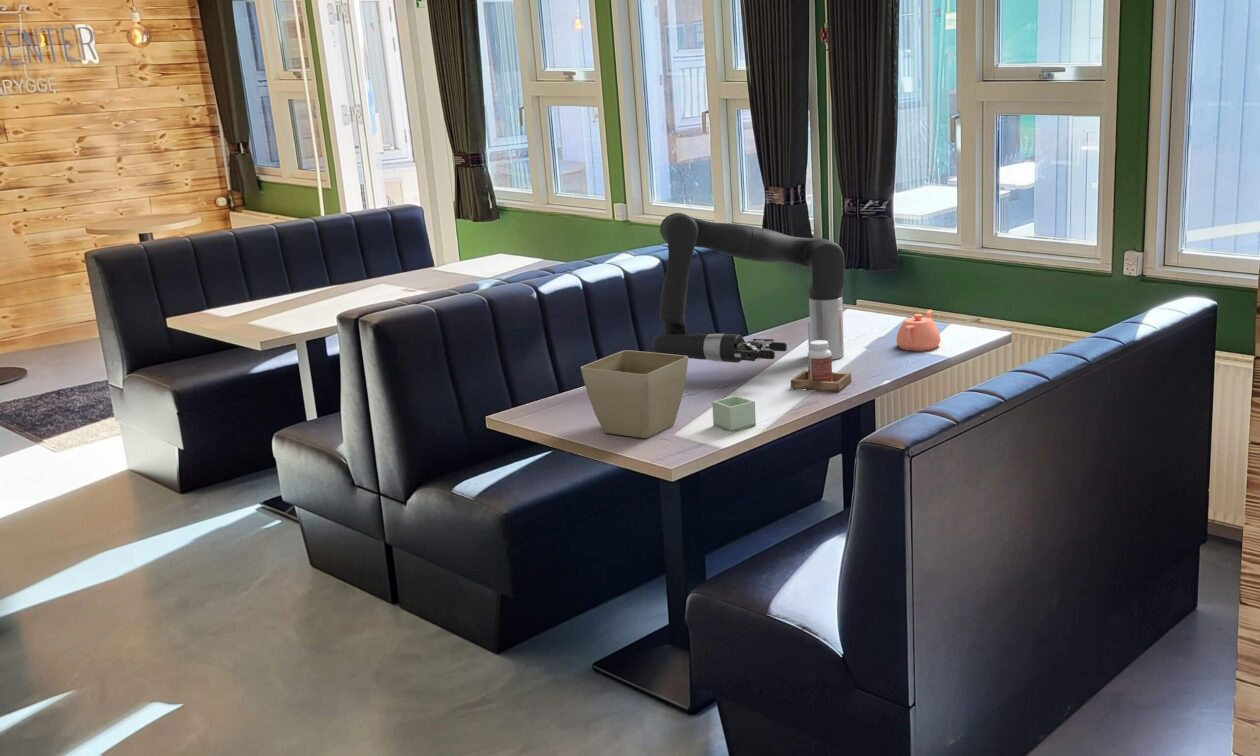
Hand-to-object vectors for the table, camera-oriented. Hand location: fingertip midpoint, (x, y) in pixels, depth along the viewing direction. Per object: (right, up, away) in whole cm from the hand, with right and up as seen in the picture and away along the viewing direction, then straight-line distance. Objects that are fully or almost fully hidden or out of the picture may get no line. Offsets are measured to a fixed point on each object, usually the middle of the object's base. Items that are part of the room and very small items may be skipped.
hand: (780, 350), depth 323 cm
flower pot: (-37, -20, -29) cm, 51 cm away
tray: (+10, -9, -3) cm, 14 cm away
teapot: (+44, +2, +30) cm, 53 cm away
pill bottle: (+10, -9, -3) cm, 14 cm away
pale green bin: (-15, -18, -31) cm, 39 cm away
